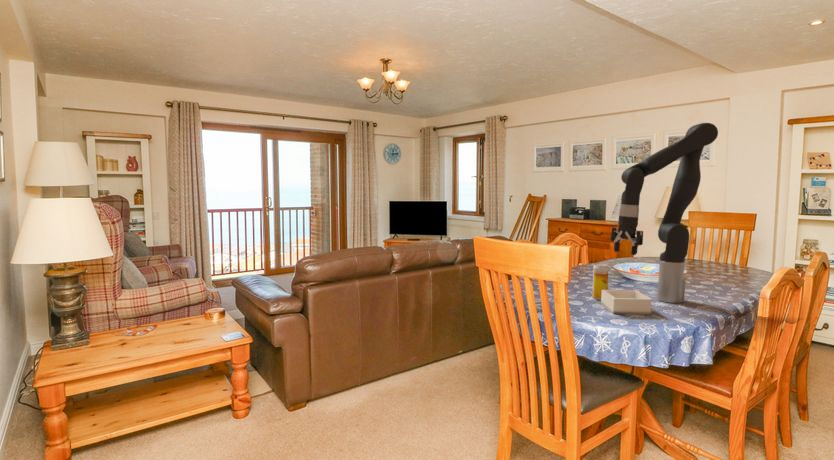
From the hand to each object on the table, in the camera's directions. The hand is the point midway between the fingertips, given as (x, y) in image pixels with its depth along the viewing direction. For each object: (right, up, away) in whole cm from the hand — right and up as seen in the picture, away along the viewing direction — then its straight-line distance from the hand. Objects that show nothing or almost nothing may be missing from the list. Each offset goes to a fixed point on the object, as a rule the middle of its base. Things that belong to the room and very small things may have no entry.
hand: (624, 253), depth 194 cm
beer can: (-10, -20, +3) cm, 23 cm away
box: (-6, -22, -12) cm, 25 cm away
